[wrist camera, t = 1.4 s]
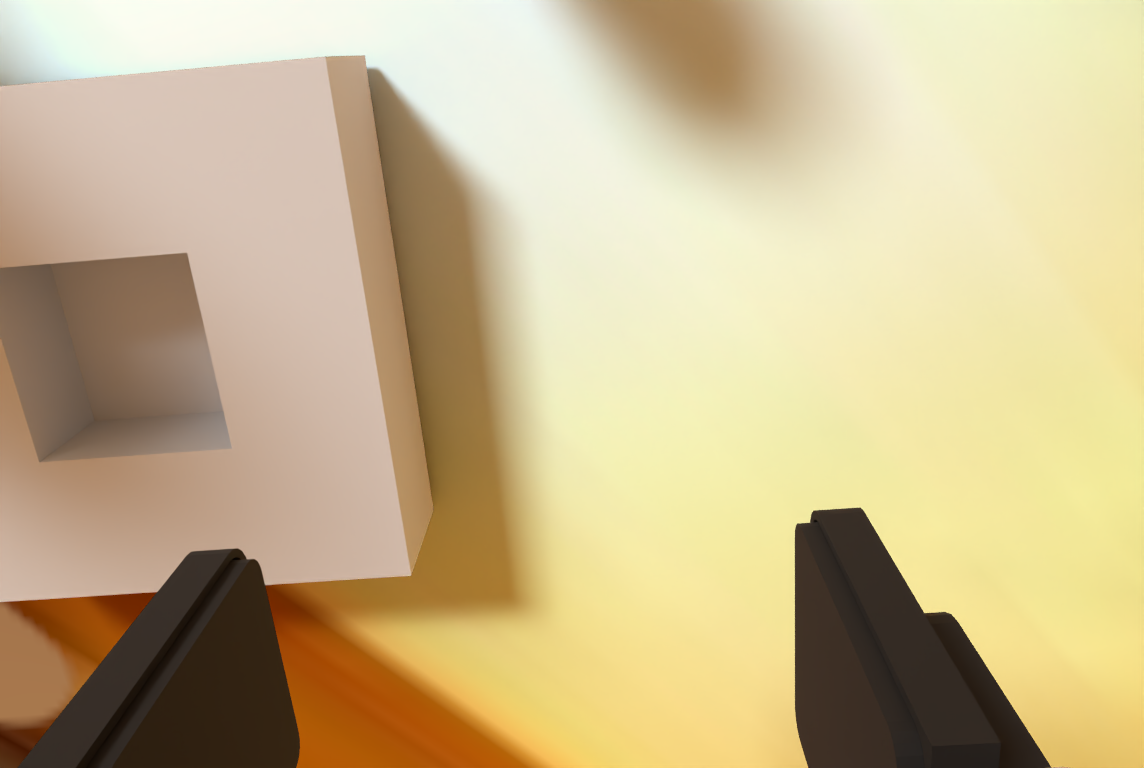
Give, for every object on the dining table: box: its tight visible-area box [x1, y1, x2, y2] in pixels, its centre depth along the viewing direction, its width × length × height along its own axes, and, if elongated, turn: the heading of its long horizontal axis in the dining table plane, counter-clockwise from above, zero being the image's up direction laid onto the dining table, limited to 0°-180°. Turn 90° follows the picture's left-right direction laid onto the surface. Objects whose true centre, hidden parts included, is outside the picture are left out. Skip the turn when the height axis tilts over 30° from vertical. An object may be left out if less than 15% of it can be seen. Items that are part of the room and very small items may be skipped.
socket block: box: [0, 55, 434, 602], centre depth 26 cm, size 14×14×4 cm
